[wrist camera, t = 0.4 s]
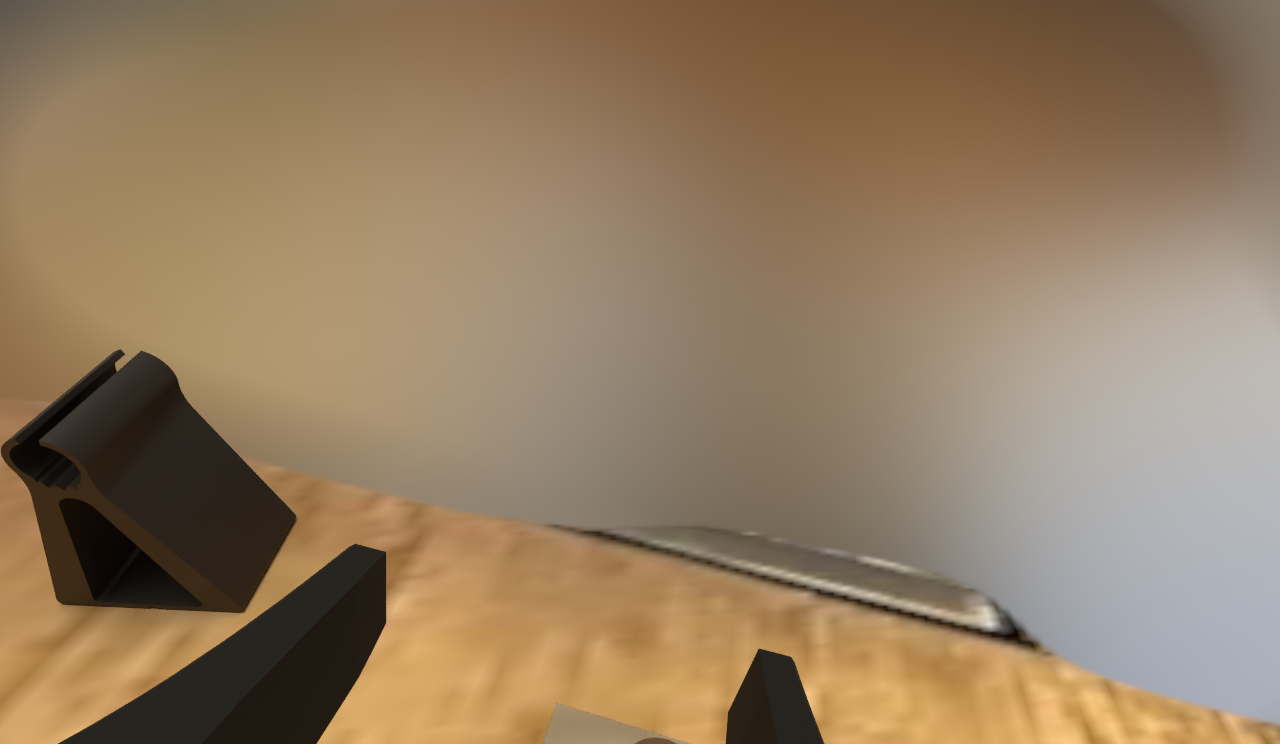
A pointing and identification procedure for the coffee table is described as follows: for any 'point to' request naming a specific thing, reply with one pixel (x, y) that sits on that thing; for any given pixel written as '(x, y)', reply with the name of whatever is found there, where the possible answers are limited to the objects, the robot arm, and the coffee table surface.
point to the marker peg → (655, 741)
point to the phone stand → (144, 496)
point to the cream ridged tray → (593, 729)
